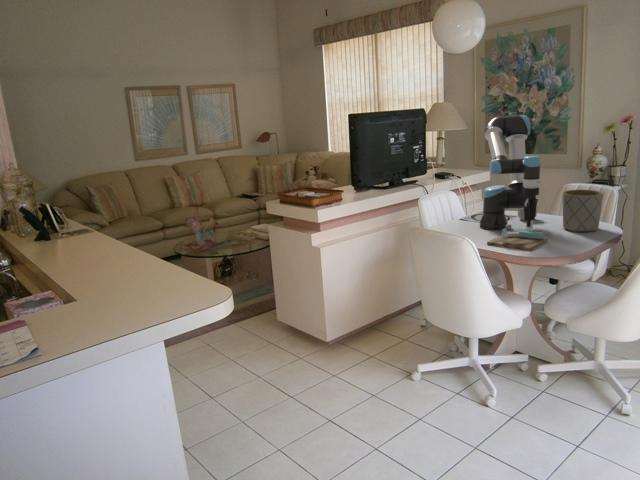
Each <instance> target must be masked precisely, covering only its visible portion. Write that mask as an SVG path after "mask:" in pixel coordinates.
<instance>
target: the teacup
mask: <svg viewBox="0 0 640 480" xmlns="http://www.w3.org/2000/svg"><path fill="white" fill-rule="evenodd" d="M516 210H517V216H518V218H519V219H520V221H521V220H522V221H526V222H527V220H525V217H524V208H523V209H522V208H516ZM537 215H538V206H537V207H536V214H535V218H537Z"/></svg>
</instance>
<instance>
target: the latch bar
mask: <svg viewBox="0 0 640 480" xmlns="http://www.w3.org/2000/svg"><path fill="white" fill-rule="evenodd" d="M502 232H519V234H520V236H519V237H526V238H534V239H541V238H544V232H540V231H526V229H523V230H522V229H515V228H512V227H511V229H510V230H508V229H506V228H505V229H501V233H502Z"/></svg>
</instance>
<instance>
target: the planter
mask: <svg viewBox="0 0 640 480" xmlns="http://www.w3.org/2000/svg"><path fill="white" fill-rule="evenodd" d="M603 198H604V192H603V191H600V190H595V189H570V190H564V191H563V192H562V228H563V229H565V230H568V231H569V232H571V233H573V232H574V233H575V232H577V233H578V232H594V233H595V232H597V230H598V229H599V225H600V220H601V213H602V212H601V211H602V206H603V200H604V199H603Z"/></svg>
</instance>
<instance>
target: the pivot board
mask: <svg viewBox="0 0 640 480" xmlns="http://www.w3.org/2000/svg"><path fill="white" fill-rule="evenodd" d="M511 228H512V224H508V225H506V229H508V230H510V229H511ZM519 236H520V234H519V232H502V231H501V234H500V235H499V236H496V237H494V238H493V239H490V240H489V241H487V242H486V245H488V246H494V247H500V248H507V249H513V250H520V251H525V252H526V251H528V252H532V251H534V250H535V249H536V248H538V247H540V246H542V245H544V244H546V243H547V242H548V241H549V238H548V237H543V238H541V239H534V238H526V237H519Z"/></svg>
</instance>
